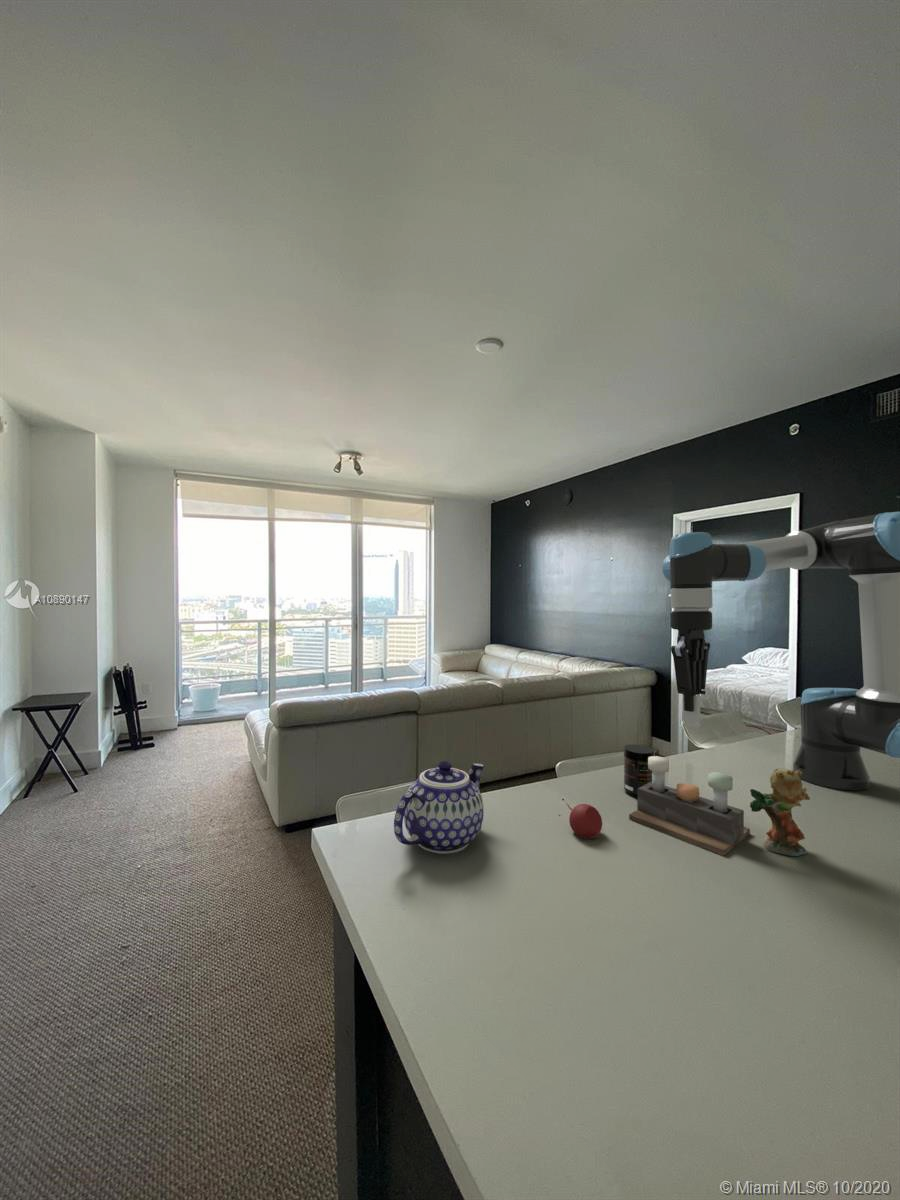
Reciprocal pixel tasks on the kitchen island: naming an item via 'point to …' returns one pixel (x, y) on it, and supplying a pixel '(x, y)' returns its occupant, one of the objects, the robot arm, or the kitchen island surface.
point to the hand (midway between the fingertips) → (691, 726)
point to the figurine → (782, 811)
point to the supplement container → (636, 767)
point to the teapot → (442, 809)
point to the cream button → (658, 772)
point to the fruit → (585, 821)
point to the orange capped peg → (687, 792)
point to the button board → (690, 819)
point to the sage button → (720, 790)
